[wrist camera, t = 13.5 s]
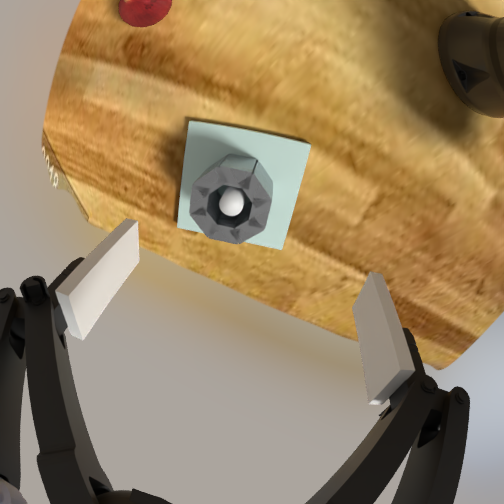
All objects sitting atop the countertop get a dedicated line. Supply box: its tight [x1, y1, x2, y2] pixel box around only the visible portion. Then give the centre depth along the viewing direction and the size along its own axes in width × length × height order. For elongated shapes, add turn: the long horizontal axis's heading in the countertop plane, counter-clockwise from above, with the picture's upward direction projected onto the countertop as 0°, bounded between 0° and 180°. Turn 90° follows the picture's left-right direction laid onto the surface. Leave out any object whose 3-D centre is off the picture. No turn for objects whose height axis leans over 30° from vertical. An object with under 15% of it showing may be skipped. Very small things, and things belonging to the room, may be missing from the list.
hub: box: [189, 154, 273, 244], centre depth 31 cm, size 8×8×6 cm
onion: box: [119, 0, 172, 27], centre depth 19 cm, size 6×6×8 cm
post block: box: [177, 120, 311, 250], centre depth 31 cm, size 14×14×6 cm
